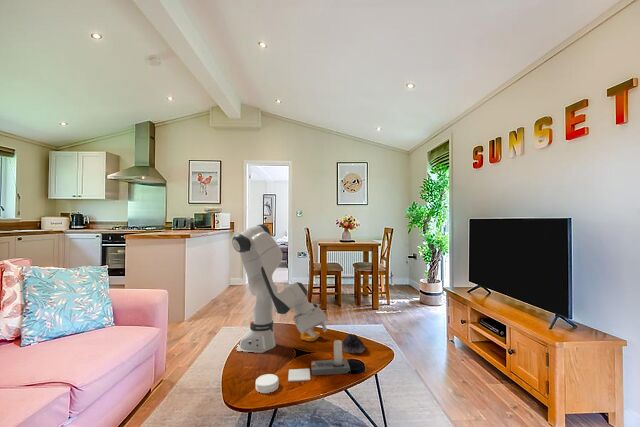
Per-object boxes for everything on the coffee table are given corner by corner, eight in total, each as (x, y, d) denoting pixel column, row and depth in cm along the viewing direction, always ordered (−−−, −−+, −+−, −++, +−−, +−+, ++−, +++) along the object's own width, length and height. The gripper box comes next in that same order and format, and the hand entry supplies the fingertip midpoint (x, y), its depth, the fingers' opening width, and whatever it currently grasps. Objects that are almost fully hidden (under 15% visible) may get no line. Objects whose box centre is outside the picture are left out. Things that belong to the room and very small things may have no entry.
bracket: (310, 342, 174) (309, 322, 174) (300, 340, 178) (300, 320, 178) (320, 337, 183) (320, 317, 183) (311, 334, 187) (310, 315, 187)
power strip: (312, 375, 136) (311, 368, 136) (311, 366, 145) (311, 359, 145) (350, 373, 137) (350, 366, 137) (347, 364, 146) (346, 357, 146)
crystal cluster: (355, 344, 172) (353, 327, 173) (371, 349, 161) (368, 331, 162) (337, 351, 165) (335, 333, 166) (352, 358, 154) (349, 339, 155)
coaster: (277, 393, 122) (277, 384, 123) (253, 394, 122) (253, 386, 122) (279, 380, 132) (279, 372, 132) (257, 382, 131) (257, 374, 132)
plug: (333, 372, 138) (332, 344, 139) (332, 366, 144) (331, 339, 144) (345, 371, 139) (344, 343, 139) (343, 366, 144) (342, 339, 145)
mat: (288, 381, 131) (288, 380, 131) (288, 370, 141) (288, 369, 141) (310, 380, 131) (310, 379, 131) (309, 369, 141) (309, 368, 141)
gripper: (295, 313, 143) (311, 337, 137) (319, 303, 160) (335, 324, 154) (288, 320, 146) (304, 344, 139) (313, 310, 162) (328, 331, 156)
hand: (320, 334), depth 147 cm, fingers open, 8 cm apart
